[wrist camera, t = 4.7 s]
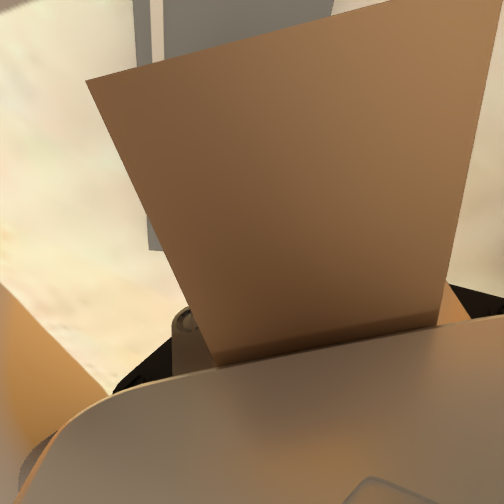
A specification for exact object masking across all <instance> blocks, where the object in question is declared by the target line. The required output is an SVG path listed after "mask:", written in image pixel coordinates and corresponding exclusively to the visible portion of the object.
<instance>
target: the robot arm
mask: <svg viewBox="0 0 504 504" xmlns="http://www.w3.org/2000/svg"><path fill="white" fill-rule="evenodd" d="M18 486H19V487H18V488H19V490H18V491H19V492H18V495H17V497H16V499H15V501H14V503H13V504H504V298H501V297H497V296H493V295H489V294H486V293H482V292H478V291H474V290H470V289H466V288H462V287H459V286H455V285H451V284H448V283H447V281H445V286H444V291H443V296H442V301H441V306H440V311H439V316H438V321H437V325H436V326H431V327H426V328H420V329H415V330H409V331H404V332H399V333H393V334H388V335H382V336H377V337H372V338H366V339H361V340H356V341H350V342H345V343H340V344H335V345H329V346H324V347H319V348H314V349H308V350H303V351H298V352H293V353H288V354H282V355H277V356H272V357H267V358H262V359H257V360H252V361H247V362H242V363H237V364H231V365H226V366H221V367H217V366H216V364H215V362H214V359H213V357H212V355H211V353H210V351H209V349H208V346H207V344H206V342H205V340H204V338H203V336H202V333H201V331H200V329H199V327H198V325H197V323H196V320H195V318H194V316H193V314H192V312H191V310H190V307H189V306H188V307H185V308H184V309H182V310H181V311H180V312H179V313H178V314H177V315H176V316H175V317H174V319H173V321H172V337H171V338H169V339H168V340H167V341H166V342H165V343H164V344H163V345H161V346H160V347H159V348H158V349H157V350H156V351H154V352H153V353H152V354H151V355H150V356H149V357H148V358H146V359H145V360H144V361H143V362H142V363H141V364H139V365H138V366H137V367H136V368H135V369H134V370H132V371H131V372H130V373H129V374H128V375H127V376H126V377H124V378H123V379H122V380H121V381H120V382H119V384H118V385H117V386H116V388H115V389H114V391H113V393H112V395H110V396H108V397H105V398H103V399H102V400H100V401H98V402H96V403H94V404H92V405H91V406H89V407H87V408H86V409H84V410H82V411H81V412H79V413H78V414H77V415H75V416H74V417H72V418H71V419H70V420H68V421H67V422H66V423H65V424H64V425H63V426H62V427H61V428H60V429H59V430H58V431H56V432H55V433H53V434H52V435H50V436H49V437H48V438H46V439H45V440H43V441H42V442H41V443H40V444H38V445H37V446H36V447H35V448H34V449H33V450H32V451H31V452H30V454H29V455H28V456H27V457H26V459H25V460H24V462H23V464H22V466H21V468H20V473H19V485H18Z"/></svg>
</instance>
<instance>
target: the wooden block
mask: <svg viewBox="0 0 504 504" xmlns="http://www.w3.org/2000/svg"><path fill="white" fill-rule="evenodd" d="M502 2H503V0H390V1H386V2H382V3H379V4H375V5H371V6H367V7H363V8H360V9H356V10H352V11H348V12H344V13H341V14H337V15H333V16H329V17H326V18H322V19H318V20H314V21H310V22H307V23H303V24H299V25H295V26H291V27H288V28H284V29H280V30H276V31H272V32H269V33H265V34H261V35H257V36H253V37H250V38H246V39H242V40H238V41H234V42H231V43H227V44H223V45H219V46H215V47H212V48H208V49H204V50H200V51H196V52H193V53H189V54H185V55H181V56H177V57H174V58H170V59H166V60H162V61H159V62H155V63H151V64H147V65H143V66H140V67H136V68H132V69H128V70H124V71H121V72H117V73H113V74H109V75H105V76H102V77H98V78H94V79H90V80H86V81H85V82H86V84H87V86H88V88H89V90H90V93H91V95H92V97H93V99H94V101H95V103H96V106H97V108H98V110H99V112H100V114H101V116H102V119H103V121H104V123H105V125H106V127H107V129H108V132H109V134H110V136H111V138H112V140H113V142H114V145H115V147H116V149H117V151H118V153H119V155H120V158H121V160H122V162H123V164H124V166H125V168H126V171H127V173H128V175H129V177H130V179H131V182H132V184H133V186H134V188H135V190H136V192H137V195H138V197H139V199H140V201H141V203H142V205H143V208H144V210H145V212H146V214H147V216H148V218H149V221H150V223H151V225H152V227H153V229H154V231H155V234H156V236H157V238H158V240H159V242H160V244H161V247H162V249H163V251H164V253H165V255H166V257H167V260H168V262H169V264H170V266H171V268H172V270H173V273H174V275H175V277H176V279H177V281H178V283H179V286H180V288H181V290H182V292H183V294H184V297H185V299H186V301H187V303H188V305H189V307H190V310H191V312H192V314H193V316H194V318H195V320H196V323H197V325H198V327H199V329H200V331H201V333H202V336H203V338H204V340H205V342H206V344H207V346H208V349H209V351H210V353H211V355H212V357H213V359H214V362H215V364H216V366H217V367H221V366H226V365H231V364H237V363H242V362H247V361H252V360H257V359H262V358H267V357H272V356H277V355H282V354H288V353H293V352H298V351H303V350H308V349H314V348H319V347H324V346H329V345H335V344H340V343H345V342H350V341H356V340H361V339H366V338H372V337H377V336H382V335H388V334H393V333H399V332H404V331H409V330H415V329H420V328H426V327H431V326H436V325H437V321H438V316H439V311H440V306H441V301H442V296H443V291H444V286H445V281H446V277H447V272H448V267H449V262H450V257H451V252H452V247H453V242H454V237H455V232H456V227H457V223H458V218H459V213H460V208H461V203H462V198H463V193H464V188H465V183H466V178H467V173H468V169H469V164H470V159H471V154H472V149H473V144H474V139H475V134H476V129H477V124H478V119H479V114H480V110H481V105H482V100H483V95H484V90H485V85H486V80H487V75H488V70H489V65H490V60H491V56H492V51H493V46H494V41H495V36H496V31H497V26H498V21H499V16H500V11H501V6H502Z"/></svg>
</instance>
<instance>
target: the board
mask: <svg viewBox="0 0 504 504" xmlns="http://www.w3.org/2000/svg"><path fill="white" fill-rule="evenodd" d="M333 2H334V0H133V11H134V27H135V42H136V58H137V67H140V66H143V65H147V64H151V63H155V62H159V61H162V60H166V59H170V58H174V57H177V56H181V55H185V54H189V53H193V52H196V51H200V50H204V49H208V48H212V47H215V46H219V45H223V44H227V43H231V42H234V41H238V40H242V39H246V38H250V37H253V36H257V35H261V34H265V33H269V32H272V31H276V30H280V29H284V28H288V27H291V26H295V25H299V24H303V23H307V22H310V21H314V20H318V19H322V18H326V17H329V16H331V11H332V7H333ZM147 228H148V243H149V250H154V251H163V249H162V247H161V244H160V242H159V240H158V238H157V236H156V234H155V231H154V229H153V227H152V225H151V223H150V221H149V218H148V216H147Z"/></svg>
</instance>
